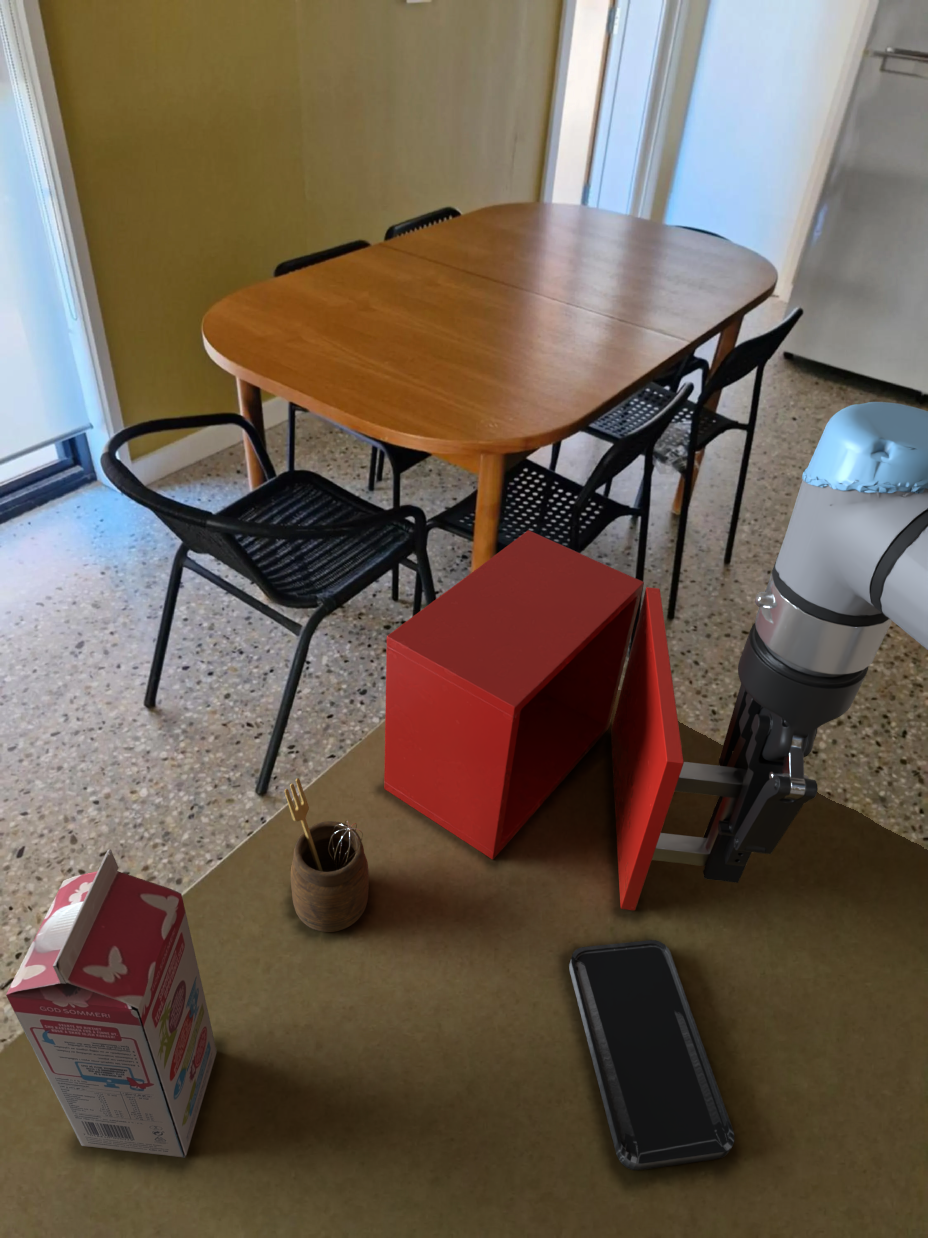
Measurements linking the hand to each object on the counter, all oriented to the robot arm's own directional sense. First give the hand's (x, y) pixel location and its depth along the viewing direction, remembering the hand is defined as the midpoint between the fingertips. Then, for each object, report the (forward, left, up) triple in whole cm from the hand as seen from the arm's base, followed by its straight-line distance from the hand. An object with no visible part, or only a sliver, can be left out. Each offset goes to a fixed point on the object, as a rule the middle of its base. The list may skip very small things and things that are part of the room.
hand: (718, 864), depth 72 cm
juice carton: (+11, +43, -4) cm, 45 cm away
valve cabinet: (+21, +5, -3) cm, 22 cm away
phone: (-6, +14, -3) cm, 16 cm away
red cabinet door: (+8, -2, -3) cm, 9 cm away
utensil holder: (+17, +26, -4) cm, 31 cm away
